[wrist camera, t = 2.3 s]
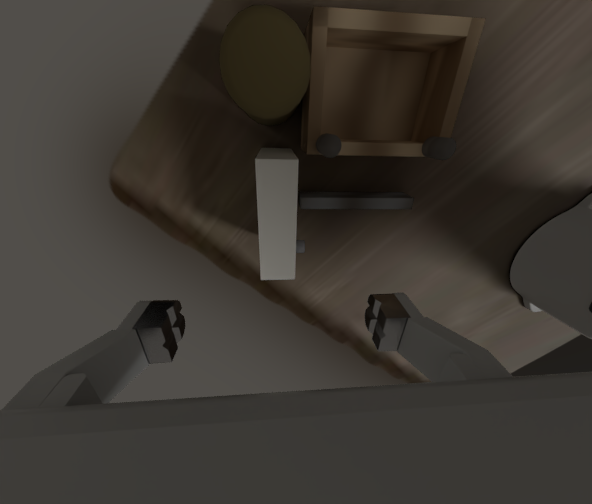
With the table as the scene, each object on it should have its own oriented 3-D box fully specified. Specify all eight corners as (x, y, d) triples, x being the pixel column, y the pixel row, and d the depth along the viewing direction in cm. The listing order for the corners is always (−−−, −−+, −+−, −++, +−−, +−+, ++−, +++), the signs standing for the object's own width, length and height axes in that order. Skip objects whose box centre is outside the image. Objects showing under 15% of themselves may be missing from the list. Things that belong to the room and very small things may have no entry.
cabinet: (438, 42, 22) (510, 5, 15) (400, 202, 28) (439, 226, 22) (304, 33, 21) (318, -9, 14) (298, 202, 27) (306, 227, 21)
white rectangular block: (261, 147, 25) (255, 158, 17) (300, 148, 25) (312, 160, 17) (264, 237, 29) (260, 280, 21) (297, 237, 30) (306, 279, 22)
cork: (247, 132, 24) (228, 138, 14) (226, 56, 21) (183, -3, 11) (307, 117, 24) (330, 113, 14) (294, 38, 21) (311, -37, 11)
